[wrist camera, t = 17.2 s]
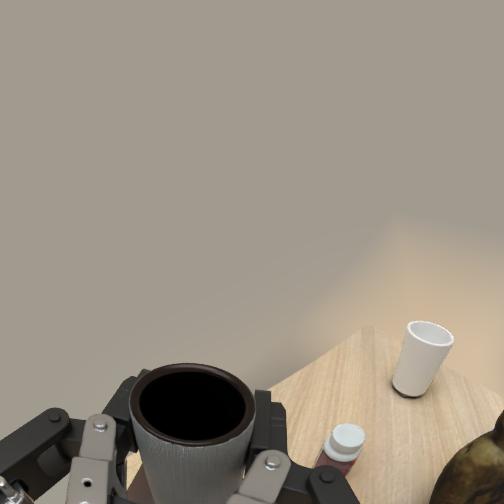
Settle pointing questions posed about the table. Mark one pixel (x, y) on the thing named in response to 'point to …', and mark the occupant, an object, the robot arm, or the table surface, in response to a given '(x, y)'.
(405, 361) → the cup
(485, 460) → the sculpture
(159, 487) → the planter
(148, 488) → the plant stand
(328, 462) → the pill bottle
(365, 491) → the table surface
